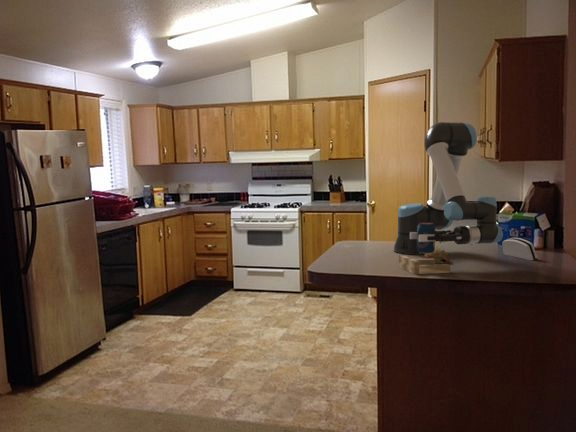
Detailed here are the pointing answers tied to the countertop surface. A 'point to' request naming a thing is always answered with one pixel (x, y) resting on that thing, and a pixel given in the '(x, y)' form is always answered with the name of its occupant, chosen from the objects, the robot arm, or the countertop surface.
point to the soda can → (423, 230)
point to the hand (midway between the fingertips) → (414, 237)
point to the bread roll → (438, 256)
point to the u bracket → (422, 265)
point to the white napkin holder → (519, 248)
